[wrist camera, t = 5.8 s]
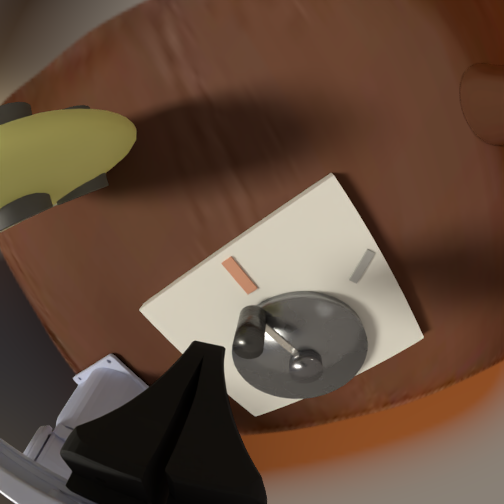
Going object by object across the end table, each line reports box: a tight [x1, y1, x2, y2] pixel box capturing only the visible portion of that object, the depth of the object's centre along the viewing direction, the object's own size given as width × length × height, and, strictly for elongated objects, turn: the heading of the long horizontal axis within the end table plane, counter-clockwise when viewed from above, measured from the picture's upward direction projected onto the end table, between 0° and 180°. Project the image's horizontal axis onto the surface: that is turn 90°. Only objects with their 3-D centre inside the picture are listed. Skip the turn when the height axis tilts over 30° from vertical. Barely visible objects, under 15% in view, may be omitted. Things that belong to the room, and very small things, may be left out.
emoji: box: [0, 102, 136, 232], centre depth 12 cm, size 5×15×15 cm
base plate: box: [139, 173, 424, 417], centre depth 22 cm, size 17×15×1 cm
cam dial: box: [232, 291, 368, 399], centre depth 20 cm, size 11×10×4 cm
